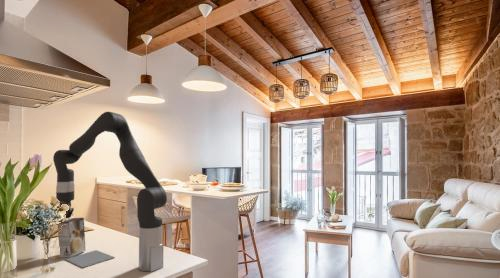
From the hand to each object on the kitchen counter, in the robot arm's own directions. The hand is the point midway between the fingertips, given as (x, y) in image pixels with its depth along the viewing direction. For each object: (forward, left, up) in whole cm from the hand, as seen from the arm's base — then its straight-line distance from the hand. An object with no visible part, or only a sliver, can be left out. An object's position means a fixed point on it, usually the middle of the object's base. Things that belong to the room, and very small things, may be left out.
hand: (64, 226), depth 143 cm
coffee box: (-9, 0, -12) cm, 15 cm away
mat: (-21, -2, -12) cm, 24 cm away
